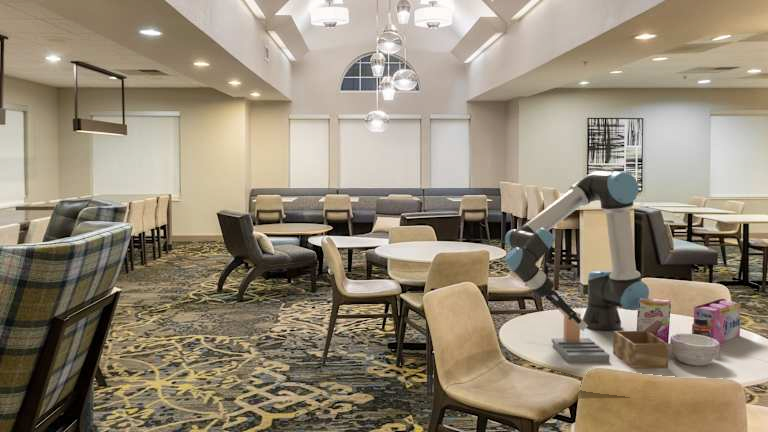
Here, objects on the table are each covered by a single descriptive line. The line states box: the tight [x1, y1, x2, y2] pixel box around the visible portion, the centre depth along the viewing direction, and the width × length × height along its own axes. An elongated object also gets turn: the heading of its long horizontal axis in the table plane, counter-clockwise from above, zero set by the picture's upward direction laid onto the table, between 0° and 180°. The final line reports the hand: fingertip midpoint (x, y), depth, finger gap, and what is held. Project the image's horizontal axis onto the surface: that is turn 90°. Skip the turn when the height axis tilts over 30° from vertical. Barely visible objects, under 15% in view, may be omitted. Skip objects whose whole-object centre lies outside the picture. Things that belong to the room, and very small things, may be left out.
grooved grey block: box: [551, 311, 610, 364], centre depth 227 cm, size 20×14×12 cm
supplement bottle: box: [691, 317, 710, 337], centre depth 233 cm, size 6×6×11 cm
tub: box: [612, 330, 670, 369], centre depth 220 cm, size 16×12×8 cm
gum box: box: [693, 298, 742, 344], centre depth 246 cm, size 24×8×14 cm, turn 128°
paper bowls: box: [669, 332, 721, 367], centre depth 219 cm, size 15×15×8 cm
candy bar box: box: [636, 298, 672, 344], centre depth 240 cm, size 11×5×16 cm, turn 71°
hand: (578, 323), depth 235 cm, fingers open, 13 cm apart
